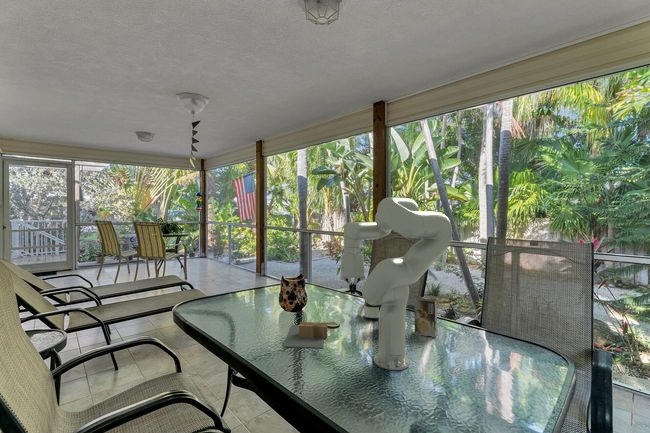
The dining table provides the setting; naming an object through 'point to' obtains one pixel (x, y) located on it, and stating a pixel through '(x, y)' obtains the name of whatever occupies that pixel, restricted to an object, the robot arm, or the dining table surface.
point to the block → (313, 330)
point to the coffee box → (426, 316)
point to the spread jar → (369, 311)
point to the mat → (302, 340)
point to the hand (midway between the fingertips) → (352, 293)
